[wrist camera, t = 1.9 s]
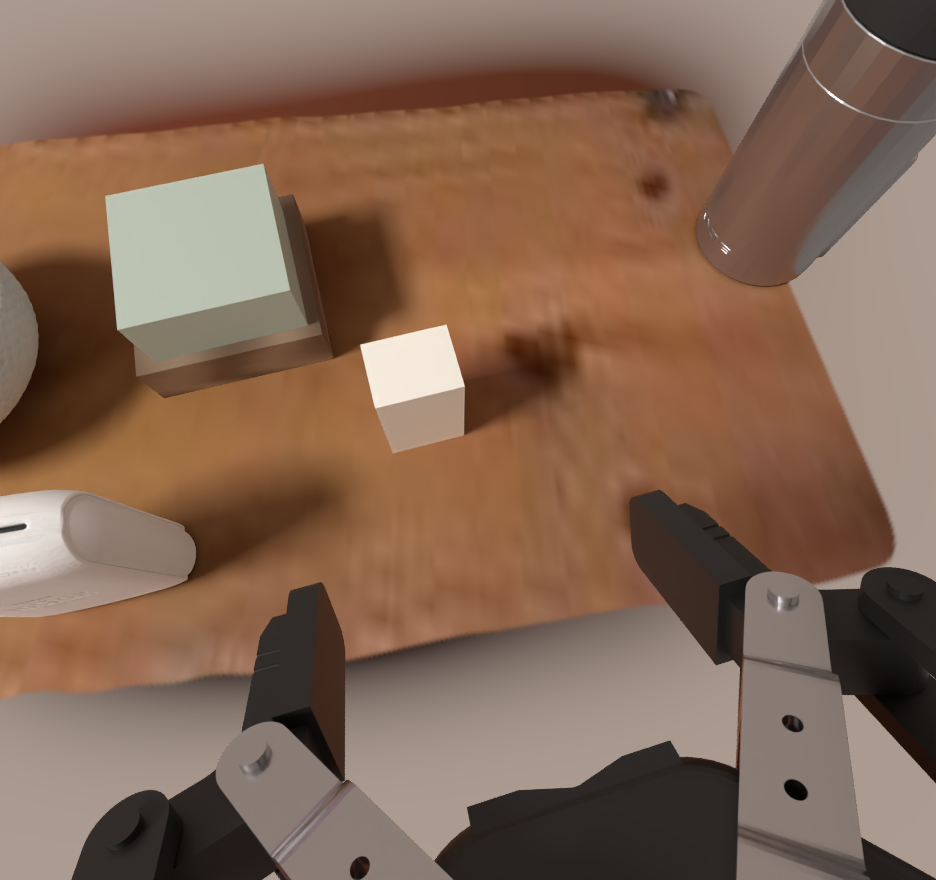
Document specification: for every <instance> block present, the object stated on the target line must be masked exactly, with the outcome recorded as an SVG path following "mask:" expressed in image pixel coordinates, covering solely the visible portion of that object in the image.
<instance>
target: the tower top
mask: <svg viewBox="0 0 936 880" xmlns="http://www.w3.org/2000/svg"><path fill="white" fill-rule="evenodd" d="M105 198H106V209H107V220H108V232H109V243H110V254H111V265H112V277H113V288H114V299H115V310H116V321H117V330H118V331H119V332H120V333H121V334H123V335H124V336H125V337H126V338H127V339H128V340H130V341H131V342H132V343H133V344H134V345H135V346H136V347H138V348H139V349H140V350H141V351H142V352H143V353H145V354H146V355H147V356H148V357H149V358H150V359H152V360H153V361H154V362H157V361H161V360H165V359H170V358H174V357H178V356H182V355H186V354H191V353H195V352H199V351H203V350H207V349H212V348H216V347H220V346H224V345H228V344H233V343H237V342H241V341H245V340H249V339H254V338H258V337H262V336H266V335H270V334H275V333H279V332H283V331H287V330H291V329H296V328H300V327H304V326H308V323H307V319H306V314H305V309H304V305H303V300H302V296H301V291H300V287H299V282H298V277H297V273H296V268H295V264H294V259H293V255H292V250H291V245H290V241H289V236H288V232H287V227H286V223H285V218H284V213H283V209H282V206H281V204H280V202H279V199H278V197H277V195H276V192H275V190H274V188H273V185H272V183H271V181H270V178H269V176H268V174H267V171H266V169H265V167H264V164H260V165H255V166H250V167H245V168H240V169H236V170H231V171H226V172H221V173H216V174H211V175H206V176H201V177H196V178H192V179H187V180H182V181H177V182H172V183H167V184H162V185H157V186H152V187H148V188H143V189H138V190H133V191H128V192H123V193H118V194H113V195H108V196H105Z"/></svg>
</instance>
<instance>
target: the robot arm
mask: <svg viewBox="0 0 936 880" xmlns="http://www.w3.org/2000/svg"><path fill="white" fill-rule="evenodd" d="M935 135H936V0H823V1H822V3H821V5H820V7H819V8H818V10H817V12H816V13H815V15H814V17H813V19H812V20H811V22H810V24H809V25H808V27H807V29H806V31H805V33H804V35H803V36H802V38H801V40H800V41H799V43H798V45H797V47H796V48H795V50H794V52H793V54H792V55H791V57H790V59H789V60H788V62H787V64H786V65H785V67H784V69H783V71H782V72H781V74H780V76H779V78H778V79H777V81H776V83H775V84H774V86H773V88H772V90H771V91H770V93H769V95H768V97H767V98H766V100H765V102H764V103H763V105H762V107H761V109H760V110H759V112H758V114H757V115H756V117H755V119H754V121H753V122H752V124H751V126H750V128H749V129H748V131H747V133H746V134H745V136H744V138H743V140H742V141H741V143H740V145H739V146H738V148H737V150H736V152H735V153H734V155H733V157H732V159H731V160H730V162H729V164H728V165H727V167H726V169H725V171H724V172H723V174H722V176H721V177H720V179H719V181H718V183H717V184H716V186H715V188H714V189H713V191H712V193H711V195H710V196H709V198H708V200H707V202H706V203H705V205H704V207H703V209H702V210H701V212H700V215H699V217H698V219H697V225H696V235H697V240H698V243H699V246H700V249H701V250H702V252H703V253H704V255H705V257H706V258H707V259H708V260H709V261H710V262H711V264H712V265H713V266H714V267H715V268H717V269H718V270H719V271H721V272H722V273H724V274H725V275H727V276H729V277H731V278H733V279H735V280H737V281H740V282H743V283H746V284H750V285H757V286H775V285H779V284H783V283H787V282H789V281H791V280H793V279H795V278H797V277H798V276H799V275H800V274H801V273H802V272H804V271H805V270H806V269H807V268H808V267H809V266H810V264H811V263H812V262H813V261H814V260H815V259H816V258H818V257H822V256H824V255H825V254H826V253H827V251H828V250H829V249H830V248H831V247H832V246H833V245H834V244H835V243H836V242H837V241H838V240H839V239H840V238H841V237H842V236H843V235H844V234H845V233H846V232H847V231H848V230H849V229H850V228H851V227H852V226H853V225H854V224H855V223H856V222H857V221H858V220H859V219H860V218H861V217H862V215H864V214H865V212H867V210H869V208H870V207H871V206H872V205H873V204H874V203H875V202H876V201H877V200H878V199H879V198H880V197H881V196H882V195H883V194H884V193H885V192H886V191H887V190H888V189H889V188H890V187H891V186H892V185H893V184H894V183H895V182H896V181H897V180H898V179H899V178H900V177H901V176H902V175H903V174H904V173H905V172H906V170H908V168H910V167H911V166H912V164H913V163H914V162H915V161H916V160H917V157H918V153H919V151H920V150H921V149H922V148H923V147H924V146H925V145H926V144H927V143H928V142H929V141H930V140H931V139H932V138H933V137H934V136H935ZM630 523H631V542H632V550H633V553H634V557H635V559H636V561H637V563H638V565H639V567H640V568H641V570H642V571H643V572H644V574H645V575H646V576H647V578H648V579H649V580H650V581H651V583H652V584H653V585H654V586H655V588H656V589H657V590H658V592H659V593H660V594H661V595H662V597H663V598H664V599H665V601H666V602H667V603H668V604H669V606H670V607H671V608H672V610H673V611H674V612H675V613H676V614H677V616H678V617H679V618H680V620H681V621H682V622H683V623H684V625H685V626H686V627H687V629H688V630H689V631H690V632H691V634H692V635H693V636H694V638H695V639H696V640H697V641H698V643H699V644H700V645H701V647H702V648H703V649H704V650H705V652H706V653H707V654H708V656H710V658H711V659H712V661H713V662H714V663H715V664H716V665H718V664H722V663H725V662H728V661H731V660H734V661H735V662H736V664H737V665H738V666H739V667H740V678H739V702H738V726H737V749H736V768H733V767H731V766H729V765H726V764H723V763H720V762H716V761H713V760H708V759H703V758H693V757H679V755H678V753H677V752H676V750H675V748H674V746H673V745H672V743H671V741H667V742H664V743H661V744H658V745H655V746H652V747H649V748H646V749H643V750H640V751H636V752H633V753H630V754H627V755H625V756H622V757H620V758H619V759H617V760H616V761H614V762H613V763H612V764H610V765H608V766H607V767H605V768H604V769H603V770H601V771H600V772H598V773H597V774H595V775H594V776H593V777H591V778H589V779H588V780H586V781H585V782H584V783H582V784H581V785H579V786H576V787H573V788H556V789H535V790H518V791H515V792H512V793H509V794H506V795H503V796H500V797H497V798H493V799H490V800H488V801H484V802H481V803H478V804H475V805H473V806H469V807H467V810H468V815H469V820H470V826H469V827H468V828H466V829H465V830H463V831H462V832H461V833H459V834H458V835H457V836H456V837H455V838H454V839H453V840H451V842H449V844H448V845H447V846H446V847H445V848H444V849H443V850H442V851H441V852H440V854H439V855H438V856H437V858H436V859H435V861H433V860H432V859H431V858H430V857H429V856H428V855H427V854H426V853H425V852H424V851H423V850H422V849H421V848H420V847H419V846H418V845H417V844H416V843H415V842H414V841H413V840H412V839H411V838H410V837H409V836H408V835H407V834H406V833H405V832H404V831H403V830H401V829H400V828H399V827H398V826H397V825H396V824H395V823H394V822H393V821H392V820H391V819H390V818H389V817H388V816H387V815H386V814H385V813H384V812H383V811H382V810H381V809H380V808H379V807H378V806H377V805H376V804H375V803H374V802H373V801H372V800H371V799H370V798H369V797H368V796H367V795H366V794H364V793H363V792H362V791H361V790H360V789H359V788H358V787H357V786H356V785H355V784H354V783H352V782H351V781H349V780H346V781H345V646H344V640H343V635H342V631H341V628H340V625H339V623H338V620H337V617H336V615H335V612H334V610H333V607H332V605H331V602H330V599H329V597H328V594H327V592H326V589H325V587H324V585H323V583H321V582H320V583H316V584H313V585H309V586H305V587H302V588H298V589H294V590H291V591H290V593H289V598H288V605H287V612H286V614H284V615H280V616H277V617H273V618H272V619H271V620H270V622H269V624H268V625H267V627H266V628H265V630H264V631H263V633H262V634H261V636H260V640H259V646H258V651H257V658H256V661H255V666H254V674H253V676H252V681H251V686H250V692H249V697H248V702H247V707H246V713H245V717H244V722H243V727H242V732H241V733H240V734H239V735H238V736H237V737H236V738H234V739H233V740H232V741H231V742H230V744H229V745H228V746H227V747H226V749H225V750H224V752H223V753H222V755H221V757H220V759H219V762H218V765H217V768H216V770H215V771H214V772H212V773H211V774H210V775H208V776H207V777H205V778H204V779H202V780H201V781H199V782H197V783H196V784H194V785H193V786H191V787H189V788H188V789H186V790H184V791H182V792H181V793H179V794H177V795H176V796H174V797H173V798H171V799H169V800H168V799H167V798H166V797H165V795H164V794H162V793H161V792H158V791H155V790H146V791H142V792H138V793H135V794H134V795H131V796H129V797H127V798H125V799H124V800H122V801H121V802H119V803H118V804H116V805H115V806H114V807H113V808H112V809H110V810H109V811H108V812H107V813H106V814H105V815H104V816H103V817H102V818H101V819H100V820H99V822H98V823H97V824H96V825H95V827H94V828H93V829H92V831H91V833H90V834H89V836H88V838H87V840H86V842H85V844H84V846H83V849H82V851H81V854H80V857H79V860H78V863H77V866H76V868H75V871H74V874H73V877H72V880H262V879H264V878H265V877H267V876H268V875H270V874H271V873H272V872H275V873H276V875H277V876H278V878H279V879H280V880H936V879H935V878H933V877H932V876H930V875H928V874H926V873H924V872H923V871H921V870H919V869H917V868H915V867H914V866H912V865H910V864H908V863H906V862H905V861H903V860H901V859H899V858H897V857H896V856H894V855H892V854H890V853H888V852H887V851H885V850H883V849H881V848H879V847H878V846H876V845H874V844H872V843H871V842H868V841H867V840H865V839H863V838H861V835H860V827H859V820H858V813H857V804H856V797H855V789H854V782H853V774H852V767H851V760H850V753H849V745H848V737H847V730H846V722H845V715H844V707H843V700H842V695H855V696H856V697H857V698H858V700H859V701H860V702H861V703H862V704H863V705H864V706H865V707H866V708H867V709H868V710H869V712H870V713H871V714H872V715H873V716H874V717H875V718H876V719H877V720H878V721H879V722H880V723H881V724H882V726H883V727H884V728H885V729H886V730H887V731H888V732H889V733H890V734H891V735H892V736H893V737H894V739H895V740H896V741H897V742H898V743H899V744H900V745H901V746H902V747H903V748H904V749H905V750H906V752H907V753H908V754H909V755H910V756H911V757H912V758H913V759H914V760H915V761H916V762H917V763H918V765H920V767H921V768H922V769H923V770H924V771H925V772H926V773H927V774H928V775H929V776H930V777H931V779H932V780H934V782H935V783H936V680H935V679H936V582H935V581H933V580H932V579H930V578H928V577H926V576H924V575H922V574H919V573H916V572H913V571H910V570H905V569H900V568H892V567H884V568H877V569H873V570H870V571H869V572H867V573H866V574H865V575H864V576H863V578H862V582H861V587H860V589H838V590H837V589H836V590H817V588H816V587H814V586H813V585H812V584H811V583H809V582H808V581H806V580H804V579H803V578H801V577H798V576H796V575H792V574H789V573H784V572H772V571H771V570H770V569H768V568H767V567H766V566H765V565H764V564H763V563H762V562H761V561H759V560H758V559H757V558H756V557H755V556H754V555H753V554H752V553H750V552H749V551H748V550H747V549H746V548H745V547H744V546H743V545H741V544H740V543H739V542H738V541H737V540H736V539H735V538H734V537H730V535H729V533H728V532H727V531H726V530H725V529H724V528H722V527H721V526H720V527H719V525H718V523H717V522H716V521H715V520H713V519H712V518H711V517H710V516H709V515H708V514H707V513H706V512H704V511H702V510H700V509H697V508H695V507H693V506H691V505H688V504H686V503H684V504H680V505H677V504H676V503H674V502H673V501H672V500H671V499H670V498H669V497H668V496H667V495H666V494H665V493H664V492H663V491H661V490H657V491H653V492H650V493H646V494H642V495H639V496H635V497H632V498H631V499H630ZM930 674H931V675H932V676H933V677H934V678H935V679H934V678H933V677H932V676H931V675H930ZM343 781H345V782H344V783H342V782H343Z"/></svg>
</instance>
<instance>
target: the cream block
mask: <svg viewBox="0 0 936 880" xmlns="http://www.w3.org/2000/svg"><path fill="white" fill-rule="evenodd" d="M360 346H361V350H362V355H363V359H364V363H365V367H366V372H367V376H368V380H369V384H370V388H371V393H372V397H373V401H374V405H375V409H376V412H377V414H378V417H379V419H380V422H381V424H382V427H383V429H384V432H385V434H386V437H387V440H388V442H389V445H390V447H391V450H392V452H393V453H397V452H401V451H405V450H408V449H412V448H416V447H420V446H424V445H428V444H432V443H436V442H440V441H444V440H448V439H452V438H456V437H459V436H463V435H464V406H465V385H464V382H463V379H462V375H461V372H460V369H459V365H458V362H457V359H456V355H455V352H454V349H453V345H452V342H451V339H450V335H449V332H448V329H447V325H443V326H438V327H434V328H430V329H426V330H421V331H417V332H413V333H408V334H404V335H400V336H396V337H391V338H387V339H383V340H378V341H374V342H370V343H366V344H361V345H360Z"/></svg>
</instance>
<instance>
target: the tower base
mask: <svg viewBox="0 0 936 880" xmlns="http://www.w3.org/2000/svg"><path fill="white" fill-rule="evenodd" d="M278 199H279V202H280V204H281V206H282V209H283V213H284V218H285V223H286V227H287V232H288V236H289V241H290V245H291V250H292V255H293V259H294V264H295V268H296V273H297V277H298V282H299V287H300V291H301V296H302V300H303V305H304V309H305V314H306V319H307V323H308V326H304V327H300V328H296V329H291V330H287V331H283V332H279V333H275V334H270V335H266V336H262V337H258V338H254V339H249V340H245V341H241V342H237V343H233V344H228V345H224V346H220V347H216V348H212V349H207V350H203V351H199V352H195V353H191V354H186V355H182V356H178V357H174V358H170V359H165V360H161V361H157V362H154V361H153V360H152V359H150V358H149V357H148V356H147V355H146V354H145V353H143V352H142V351H141V350H140V349H139V348H138V347H136V346H135V345H134V356H135V368H136V377H137V378H139V379H140V380H141V381H143V382H144V383H145V384H146V385H148V386H149V387H150V388H152V389H153V390H154V391H156V392H157V393H158V394H160V395H161V396H162V397H163V398H167V397H171V396H175V395H180V394H184V393H188V392H193V391H197V390H201V389H205V388H210V387H214V386H218V385H223V384H227V383H231V382H236V381H240V380H244V379H249V378H253V377H257V376H262V375H266V374H270V373H274V372H279V371H283V370H287V369H292V368H296V367H300V366H305V365H309V364H313V363H318V362H322V361H326V360H330V359H334V357H333V353H332V348H331V343H330V339H329V334H328V329H327V324H326V320H325V315H324V310H323V306H322V301H321V296H320V292H319V287H318V282H317V278H316V273H315V268H314V263H313V259H312V254H311V249H310V245H309V240H308V235H307V231H306V227H305V224H304V221H303V219H302V216H301V214H300V211H299V209H298V206H297V204H296V201H295V198H294V196H293V194H292V195H287V196H282V197H278Z"/></svg>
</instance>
